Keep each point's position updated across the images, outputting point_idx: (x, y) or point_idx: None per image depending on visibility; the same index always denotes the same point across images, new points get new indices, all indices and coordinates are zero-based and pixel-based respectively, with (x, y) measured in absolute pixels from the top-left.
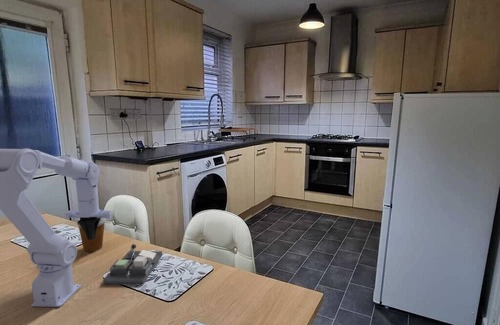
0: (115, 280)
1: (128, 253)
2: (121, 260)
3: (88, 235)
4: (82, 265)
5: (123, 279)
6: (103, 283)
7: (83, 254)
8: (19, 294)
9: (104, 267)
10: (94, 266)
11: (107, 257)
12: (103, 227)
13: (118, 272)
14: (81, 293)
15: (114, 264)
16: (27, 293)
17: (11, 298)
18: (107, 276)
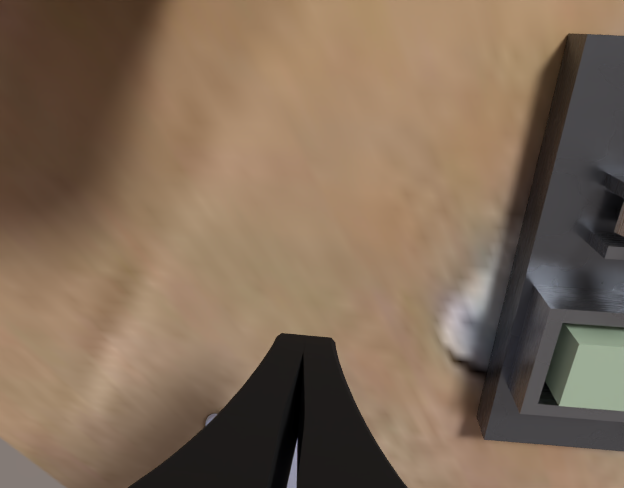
0: (560, 442)
1: (590, 91)
2: (602, 356)
3: (290, 465)
4: (224, 205)
5: (612, 445)
6: (478, 421)
7: (107, 8)
8: (85, 453)
9: (408, 241)
10: (324, 223)
11: (367, 78)
12: None
13: None
14: None
15: (543, 373)
16: (117, 450)
17: (77, 474)
18: (500, 413)
